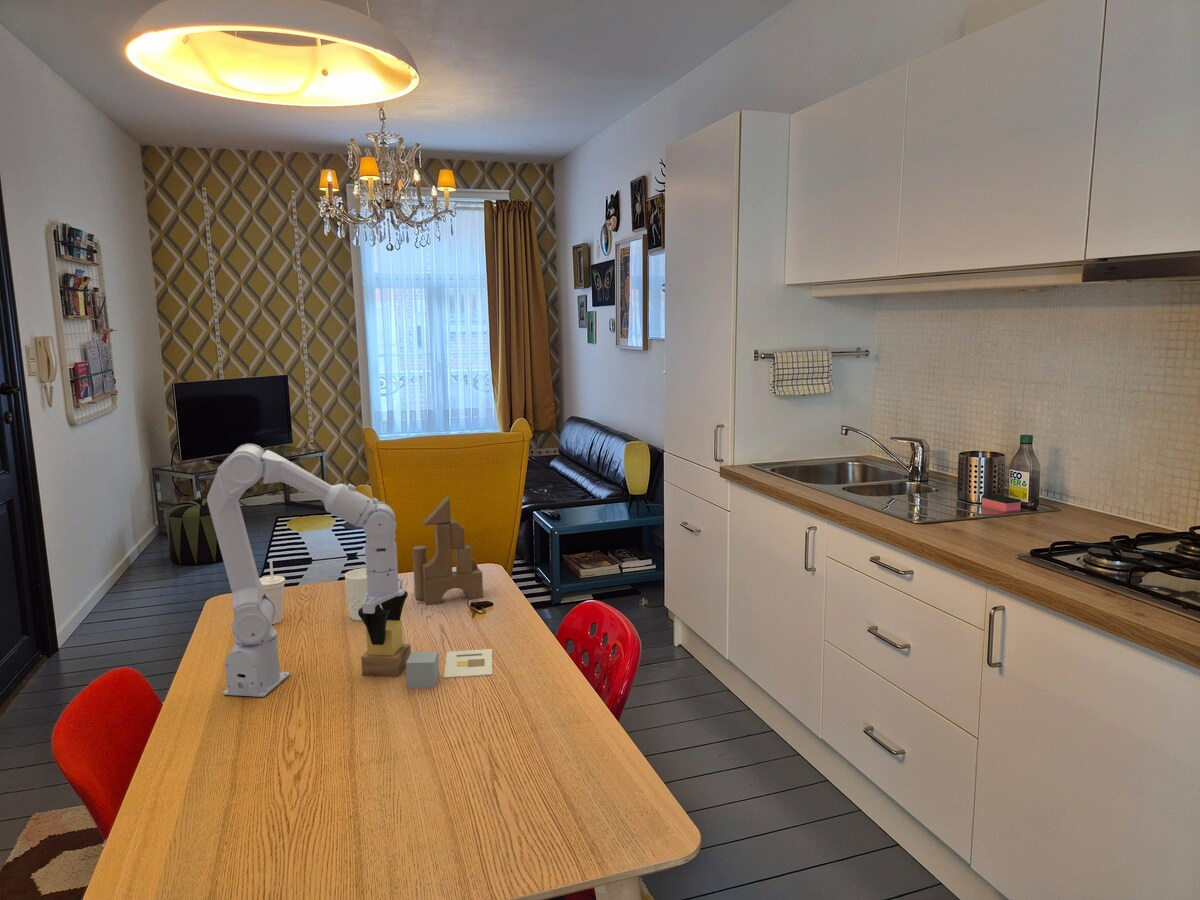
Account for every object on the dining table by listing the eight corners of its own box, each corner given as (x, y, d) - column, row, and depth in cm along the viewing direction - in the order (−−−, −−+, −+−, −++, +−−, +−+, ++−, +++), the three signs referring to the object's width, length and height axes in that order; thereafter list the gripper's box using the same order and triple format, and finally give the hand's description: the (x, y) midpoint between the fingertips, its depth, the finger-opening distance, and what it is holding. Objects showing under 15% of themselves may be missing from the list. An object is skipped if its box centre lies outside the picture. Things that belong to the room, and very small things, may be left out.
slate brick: (435, 688, 149) (434, 662, 149) (407, 689, 149) (406, 663, 148) (439, 676, 154) (438, 651, 154) (412, 677, 154) (411, 651, 153)
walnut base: (397, 678, 154) (396, 658, 153) (362, 677, 155) (361, 656, 154) (411, 663, 161) (410, 644, 160) (377, 661, 162) (376, 642, 161)
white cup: (340, 620, 184) (337, 576, 182) (360, 608, 191) (357, 566, 190) (371, 623, 181) (368, 579, 180) (389, 611, 189) (387, 569, 187)
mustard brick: (392, 655, 155) (391, 630, 154) (367, 654, 155) (366, 629, 154) (402, 645, 159) (401, 620, 159) (378, 644, 160) (376, 619, 159)
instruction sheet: (492, 675, 154) (492, 673, 154) (443, 678, 153) (443, 676, 153) (492, 649, 166) (492, 648, 166) (447, 652, 165) (447, 651, 165)
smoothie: (281, 627, 180) (276, 565, 178) (252, 627, 180) (247, 565, 178) (292, 616, 186) (288, 556, 184) (264, 616, 186) (260, 557, 184)
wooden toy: (476, 589, 204) (473, 490, 200) (483, 597, 198) (480, 496, 194) (413, 597, 198) (409, 496, 194) (418, 606, 192) (413, 501, 188)
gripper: (387, 580, 147) (391, 652, 149) (415, 557, 161) (418, 623, 163) (349, 579, 148) (354, 651, 150) (381, 556, 162) (384, 622, 164)
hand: (385, 636), depth 157 cm, fingers open, 7 cm apart
